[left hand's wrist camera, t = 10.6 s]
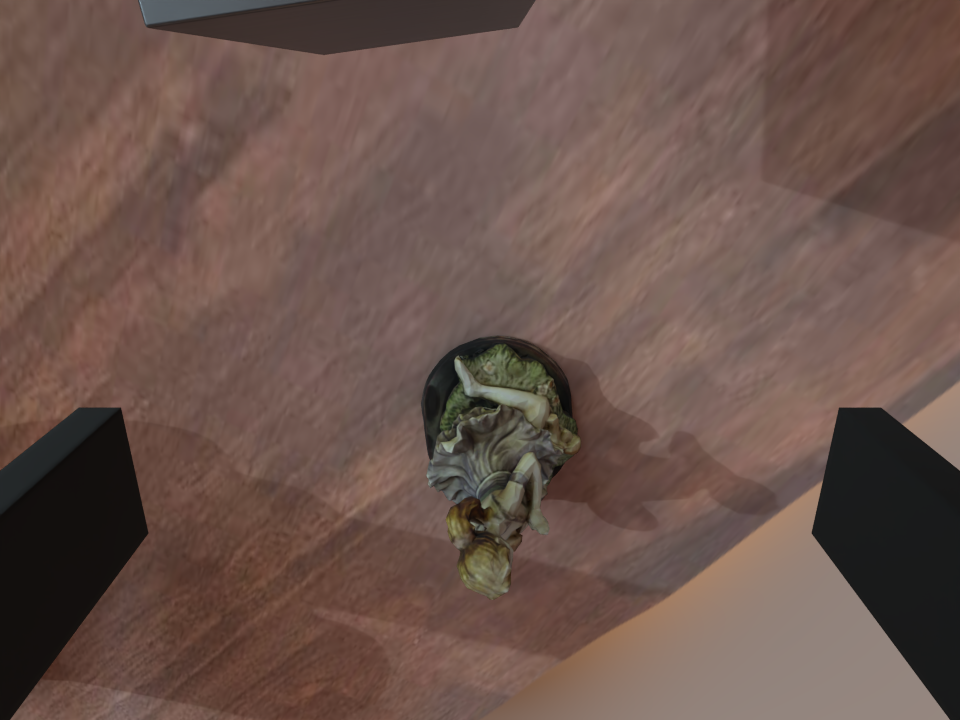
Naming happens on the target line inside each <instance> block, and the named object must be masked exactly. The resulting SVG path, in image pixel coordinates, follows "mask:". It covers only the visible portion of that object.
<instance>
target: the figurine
mask: <svg viewBox="0 0 960 720" xmlns="http://www.w3.org/2000/svg"><path fill="white" fill-rule="evenodd" d="M421 406H422V414H423V420H424V429H425V437H426V444H427V450H428V455H429V459H430V462H429V466H428V471H427V477H428V479H429V482H428V485H429V487H430V488H431V487H433V486H435V488H436V490H437V492H439V491H441V490H442V491H443V492H444V494H445V496H446V498H447V499H448V500H449V501H451V500H452V501H454V502H455V503H456V505H454V506H453V507H451V508H450V510H449V512H448V515H447V517H446V522H447V525H448V535H449V538H450V541H451V542H452V543H453V544H454V546H455V547H456V548H457V549H458V550H460V551H461V552H460V557H459V561H458V564H457V568H458V571H459V574H460V578H461V580H462V581H463V583H464V584H465V586H466V587H467V588H468V589H470V590H473V591H475V592H477V593H479V594H482V595H485V596H487V597H488V598H489V599H491V600H494V599H496V598H497V597H499V596H501V595H503V594H505V593H506V592H508V590H509V587H510V585H511V566H512V561H513V552H514V551H516V549H517V547H518V546H519V545H520V543H521V542H522V535H521V534H520V533H521V532H522V531H523V530H524V529H525V528H526V527H527V526H528V525H529V526H530V528H531V529H532V530H537V531H538V532H539V533H540V534H543V535H548V532H549V526H548V522H547V520H546V519H545V518H544V516H543V515H542V513H541V510H540V505H541V500H542V499H543V498H544V496H545V495H547V494H548V493H547V485H548V484H549V483H550V481H551V478H553V477H554V476H555V475H556V474H557V473H558V471H559V470H560V469H561V468H562V466H563V464H564V463H565V462H566V461H567V460H568V459H569V458H571V457H572V456H573V455H574V454H576V453H577V452H578V451H579V449H580V447H581V440H580V437H579V436H578V435H577V431H578V429H577V425H576V421H575V420H574V419H573V418H572V406H571V394H570V389H569V384H568V380H567V378H566V376H565V375H564V373H563V371H562V370H561V368H560V367H559V366H558V364H557V363H556V362H555V361H554V360H552V359H551V358H550V357H549V356H548V355H547V354H545V353H544V352H543V351H542V350H540V349H539V348H537V347H535V346H534V345H532V344H530V343H527V342H525V341H522V340H519V339H515V338H510V337H504V336H492V337H484V338H478V339H476V340H473V341H470V342H468V343H465V344H462V345H460V346H458V347H456V348H455V349H453V350H451V351H450V352H449V353H448V354H447V355H445V356H444V357H443V358H442V359H441V360H440V361H439V363H438V364H437V365H436V366H435V368H434V369H433V371H432V372H431V374H430V375H429V377H428V379H427V382H426V384H425V387H424V392H423V397H422V402H421Z"/></svg>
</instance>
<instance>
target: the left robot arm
mask: <svg viewBox="0 0 960 720" xmlns="http://www.w3.org/2000/svg"><path fill="white" fill-rule="evenodd" d="M147 534H148V529H147V525H146V520H145V515H144V511H143V506H142V502H141V497H140V493H139V488H138V483H137V479H136V474H135V470H134V465H133V461H132V456H131V451H130V447H129V442H128V438H127V433H126V429H125V424H124V419H123V415H122V410H121V408H78V409H77V410H75V411H74V412H73V413H72V414H71V415H69V416H68V417H67V418H66V419H64V420H63V421H62V422H61V423H59V424H58V425H57V426H56V427H54V428H53V429H52V430H51V431H49V432H48V433H47V434H46V435H44V436H43V437H42V438H41V439H39V440H38V441H37V442H36V443H34V444H33V445H32V446H31V447H29V448H28V449H27V450H26V451H24V452H23V453H22V454H21V455H19V456H18V457H17V458H16V459H14V460H13V461H12V462H11V463H9V464H8V465H7V466H6V467H4V468H3V469H2V470H1V471H0V720H10V719H11V718H12V716H13V715H14V714H15V712H16V711H17V710H18V708H19V707H20V706H21V704H22V703H23V701H24V700H25V699H26V697H27V696H28V695H29V693H30V692H31V691H32V689H33V688H34V687H35V685H36V684H37V683H38V681H39V680H40V679H41V677H42V676H43V675H44V673H45V672H46V671H47V669H48V668H49V666H50V665H51V664H52V662H53V661H54V660H55V658H56V657H57V656H58V654H59V653H60V652H61V650H62V649H63V648H64V646H65V645H66V644H67V642H68V641H69V640H70V638H71V637H72V635H73V634H74V633H75V631H76V630H77V629H78V627H79V626H80V625H81V623H82V622H83V621H84V619H85V618H86V617H87V615H88V614H89V613H90V611H91V610H92V609H93V607H94V606H95V605H96V603H97V602H98V600H99V599H100V598H101V596H102V595H103V594H104V592H105V591H106V590H107V588H108V587H109V586H110V584H111V583H112V582H113V580H114V579H115V578H116V576H117V575H118V574H119V572H120V571H121V570H122V568H123V567H124V565H125V564H126V563H127V561H128V560H129V559H130V557H131V556H132V555H133V553H134V552H135V551H136V549H137V548H138V547H139V545H140V544H141V543H142V541H143V540H144V539H145V537H146V536H147ZM812 534H813V536H814V537H815V539H816V540H817V541H818V543H819V544H820V545H821V547H822V548H823V549H824V551H825V552H826V553H827V555H828V556H829V557H830V559H831V560H832V561H833V563H834V564H835V565H836V567H837V568H838V569H839V571H840V572H841V574H842V575H843V576H844V578H845V579H846V580H847V582H848V583H849V584H850V586H851V587H852V588H853V590H854V591H855V592H856V594H857V595H858V596H859V598H860V599H861V600H862V602H863V603H864V605H865V606H866V607H867V609H868V610H869V611H870V613H871V614H872V615H873V617H874V618H875V619H876V621H877V622H878V623H879V625H880V626H881V627H882V629H883V630H884V631H885V633H886V634H887V635H888V637H889V638H890V640H891V641H892V642H893V644H894V645H895V646H896V648H897V649H898V650H899V652H900V653H901V654H902V656H903V657H904V658H905V660H906V661H907V662H908V664H909V665H910V666H911V668H912V669H913V670H914V672H915V673H916V675H917V676H918V677H919V679H920V680H921V681H922V683H923V684H924V685H925V687H926V688H927V689H928V691H929V692H930V693H931V695H932V696H933V697H934V699H935V700H936V701H937V703H938V704H939V706H940V707H941V708H942V710H943V711H944V712H945V714H946V715H947V716H948V718H949V719H950V720H960V471H959V470H958V469H957V468H956V467H954V466H953V465H952V464H951V463H949V462H948V461H947V460H946V459H944V458H943V457H942V456H941V455H939V454H938V453H937V452H936V451H934V450H933V449H932V448H931V447H929V446H928V445H927V444H926V443H924V442H923V441H922V440H921V439H919V438H918V437H917V436H916V435H914V434H913V433H912V432H911V431H909V430H908V429H907V428H906V427H904V426H903V425H902V424H901V423H899V422H898V421H897V420H896V419H894V418H893V417H892V416H891V415H889V414H888V413H887V412H886V411H885V410H883V409H882V408H839V410H838V415H837V419H836V424H835V429H834V433H833V438H832V442H831V447H830V451H829V456H828V461H827V465H826V470H825V474H824V479H823V483H822V488H821V493H820V497H819V502H818V506H817V511H816V516H815V520H814V525H813V529H812Z"/></svg>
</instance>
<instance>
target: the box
mask: <svg viewBox="0 0 960 720" xmlns="http://www.w3.org/2000/svg"><path fill="white" fill-rule="evenodd" d="M138 2H139V5H140V9H141V12H142V16H143V19H144V23H145V25H146V27H148V28H152V29H159V30H165V31H172V32H178V33H185V34H191V35H198V36H204V37H211V38H217V39H224V40H230V41H237V42H243V43H250V44H256V45H263V46H269V47H276V48H282V49H289V50H295V51H302V52H308V53H315V54H321V55H327V54H334V53H341V52H348V51H355V50H362V49H369V48H376V47H383V46H390V45H397V44H404V43H411V42H418V41H426V40H433V39H440V38H447V37H454V36H461V35H468V34H475V33H482V32H489V31H496V30H503V29H510V28H517V27H519V25H520V24H521V22H522V21H523V19H524V17H525V16H526V14H527V13H528V11H529V10H530V8H531V7H532V5H533V3H534V2H535V0H138Z"/></svg>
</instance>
